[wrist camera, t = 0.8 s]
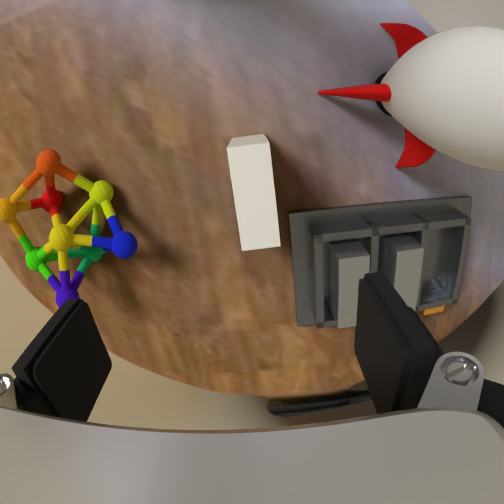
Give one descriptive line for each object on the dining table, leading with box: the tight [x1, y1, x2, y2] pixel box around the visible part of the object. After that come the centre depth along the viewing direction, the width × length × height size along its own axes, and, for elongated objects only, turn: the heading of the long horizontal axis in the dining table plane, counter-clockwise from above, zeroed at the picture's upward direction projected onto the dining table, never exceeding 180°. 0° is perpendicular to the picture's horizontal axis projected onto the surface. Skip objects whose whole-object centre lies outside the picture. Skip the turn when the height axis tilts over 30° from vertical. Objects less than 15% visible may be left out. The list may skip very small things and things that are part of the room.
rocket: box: [318, 23, 504, 172], centre depth 16 cm, size 11×11×25 cm
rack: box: [288, 196, 472, 329], centre depth 32 cm, size 14×22×6 cm, turn 97°
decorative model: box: [0, 149, 137, 308], centre depth 29 cm, size 13×9×15 cm
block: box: [227, 134, 281, 251], centre depth 27 cm, size 8×3×8 cm, turn 7°
